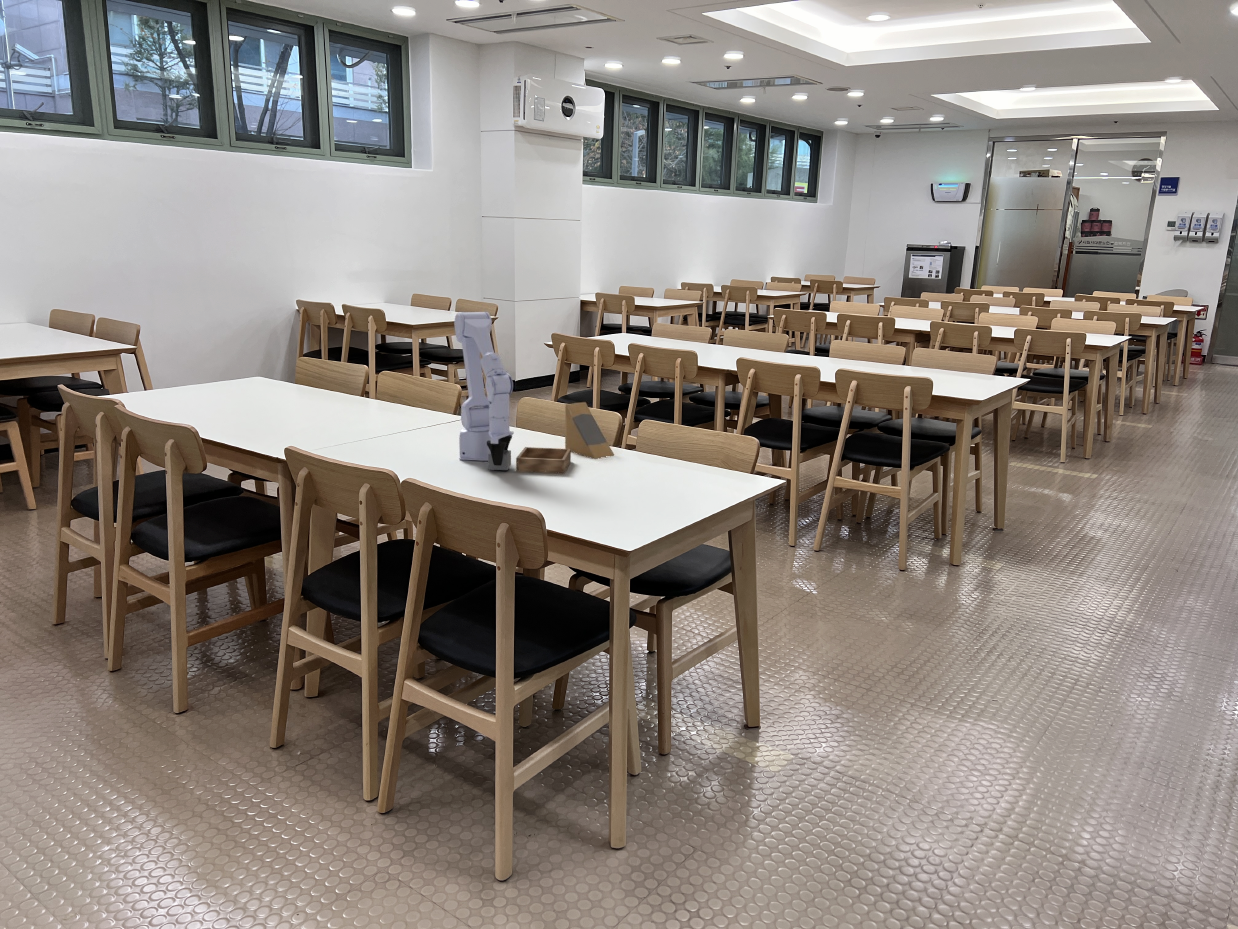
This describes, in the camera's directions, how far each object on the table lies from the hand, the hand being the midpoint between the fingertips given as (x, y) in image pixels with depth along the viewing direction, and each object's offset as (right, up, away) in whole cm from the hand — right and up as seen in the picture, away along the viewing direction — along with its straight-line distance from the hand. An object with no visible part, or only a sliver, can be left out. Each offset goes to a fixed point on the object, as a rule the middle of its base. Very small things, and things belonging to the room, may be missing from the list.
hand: (499, 462), depth 253 cm
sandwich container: (+25, +3, +24) cm, 35 cm away
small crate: (0, -1, 0) cm, 1 cm away
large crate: (+12, -1, +5) cm, 14 cm away
